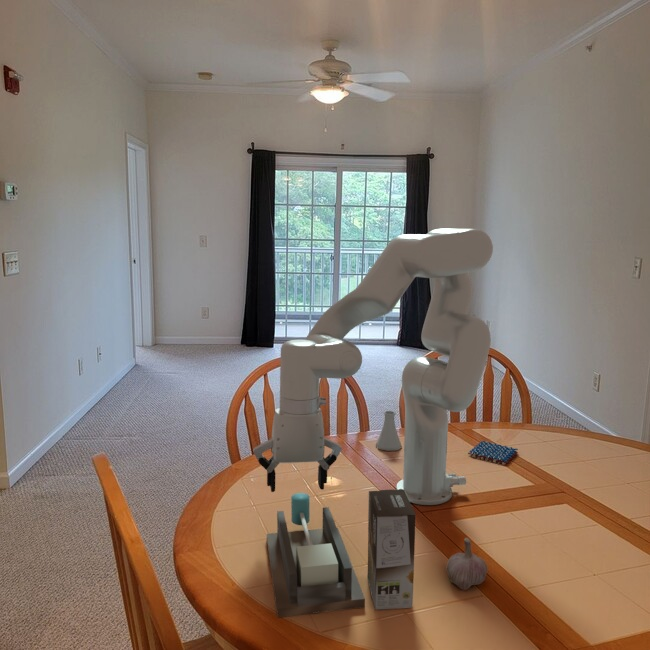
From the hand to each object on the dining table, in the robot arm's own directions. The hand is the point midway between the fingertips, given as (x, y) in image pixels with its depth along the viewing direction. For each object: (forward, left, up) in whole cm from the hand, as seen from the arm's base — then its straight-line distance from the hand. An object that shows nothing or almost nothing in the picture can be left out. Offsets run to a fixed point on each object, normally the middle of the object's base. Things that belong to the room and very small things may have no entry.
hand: (296, 487), depth 111 cm
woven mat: (-57, -29, -10) cm, 65 cm away
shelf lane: (-1, +14, -9) cm, 17 cm away
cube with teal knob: (-1, +10, -7) cm, 13 cm away
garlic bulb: (-27, +21, -10) cm, 35 cm away
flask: (-31, -39, -10) cm, 51 cm away
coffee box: (-13, +21, -9) cm, 27 cm away
